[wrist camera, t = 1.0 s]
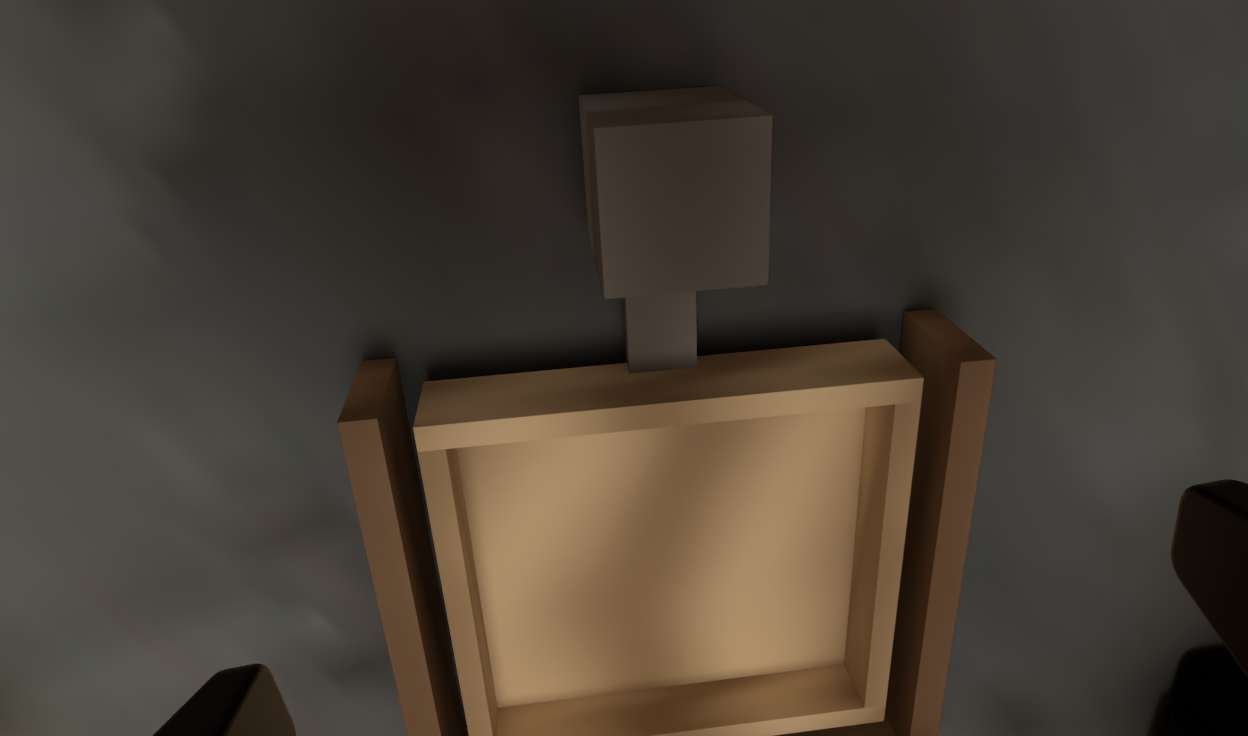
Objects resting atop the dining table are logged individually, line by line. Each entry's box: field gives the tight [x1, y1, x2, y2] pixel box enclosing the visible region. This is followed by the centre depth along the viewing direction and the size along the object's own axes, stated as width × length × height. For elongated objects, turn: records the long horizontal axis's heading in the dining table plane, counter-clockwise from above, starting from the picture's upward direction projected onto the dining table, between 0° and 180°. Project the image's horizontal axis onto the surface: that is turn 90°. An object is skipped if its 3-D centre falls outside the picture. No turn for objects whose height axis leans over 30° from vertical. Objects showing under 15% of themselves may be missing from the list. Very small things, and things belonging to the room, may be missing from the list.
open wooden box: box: [337, 309, 997, 736], centre depth 19 cm, size 14×13×9 cm
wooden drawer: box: [413, 86, 924, 736], centre depth 19 cm, size 11×17×4 cm, turn 3°
